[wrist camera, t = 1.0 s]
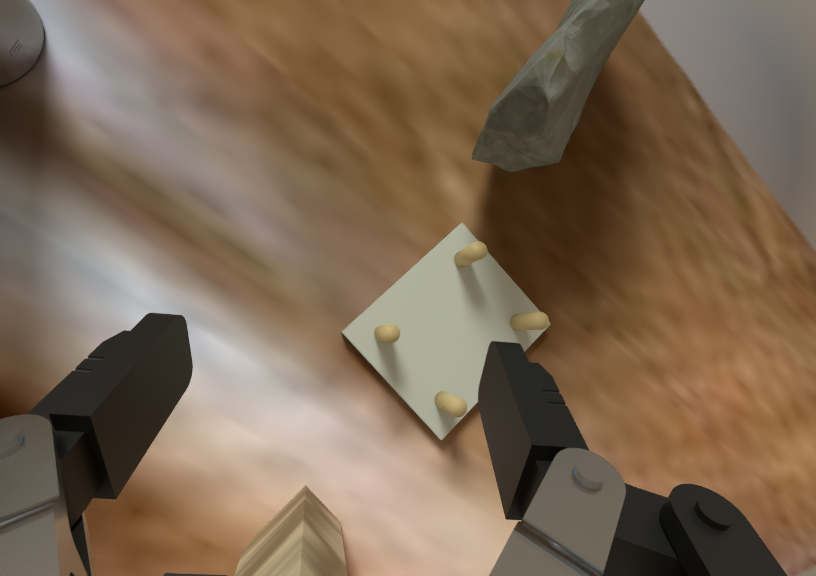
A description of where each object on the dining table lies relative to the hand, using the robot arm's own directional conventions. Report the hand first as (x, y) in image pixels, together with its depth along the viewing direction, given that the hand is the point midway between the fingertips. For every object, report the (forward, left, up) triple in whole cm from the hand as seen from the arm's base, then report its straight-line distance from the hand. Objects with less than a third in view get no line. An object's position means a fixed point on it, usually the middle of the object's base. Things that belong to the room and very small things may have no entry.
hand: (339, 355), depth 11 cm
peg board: (+6, +9, -24) cm, 26 cm away
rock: (-5, +30, -24) cm, 39 cm away
